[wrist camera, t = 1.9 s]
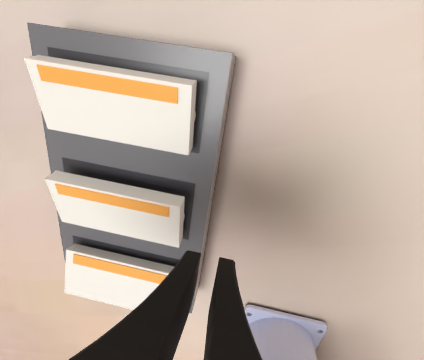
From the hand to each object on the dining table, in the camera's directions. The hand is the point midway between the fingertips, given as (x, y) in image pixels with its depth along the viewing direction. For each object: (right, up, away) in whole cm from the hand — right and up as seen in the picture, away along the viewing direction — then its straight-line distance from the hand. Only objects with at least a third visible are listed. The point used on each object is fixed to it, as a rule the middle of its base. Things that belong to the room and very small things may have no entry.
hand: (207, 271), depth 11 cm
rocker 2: (-7, -4, +9) cm, 12 cm away
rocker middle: (-6, +2, +6) cm, 9 cm away
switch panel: (-6, +4, +10) cm, 12 cm away
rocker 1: (-5, +9, +3) cm, 11 cm away
